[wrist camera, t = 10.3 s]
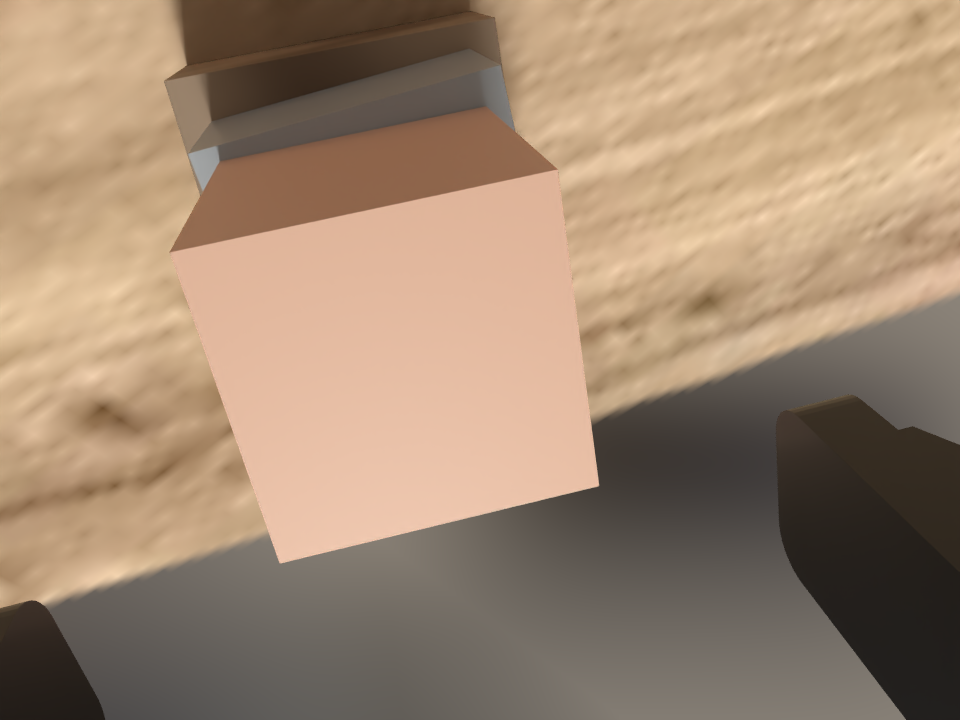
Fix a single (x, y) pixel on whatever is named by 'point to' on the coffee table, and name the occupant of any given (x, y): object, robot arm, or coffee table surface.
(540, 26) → the coffee table surface
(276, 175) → the terracotta block
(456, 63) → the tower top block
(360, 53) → the tower base block
